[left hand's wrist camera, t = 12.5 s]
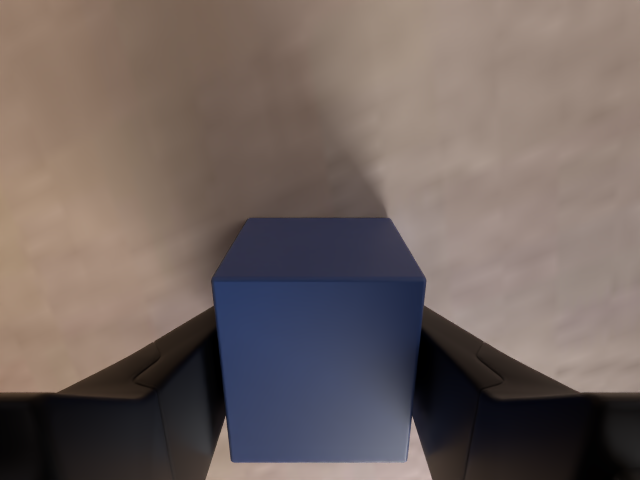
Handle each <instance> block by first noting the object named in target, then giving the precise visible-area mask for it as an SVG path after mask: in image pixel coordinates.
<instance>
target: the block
mask: <svg viewBox="0 0 640 480" xmlns="http://www.w3.org/2000/svg"><path fill="white" fill-rule="evenodd" d="M211 283H212V292H213V301H214V310H215V320H216V329H217V338H218V347H219V356H220V365H221V374H222V384H223V393H224V402H225V411H226V420H227V429H228V439H229V448H230V457H231V461H232V462H234V463H404V462H406V461H407V458H408V448H409V439H410V429H411V420H412V411H413V401H414V392H415V382H416V373H417V364H418V354H419V345H420V335H421V326H422V317H423V307H424V298H425V288H426V278H425V276H424V274H423V273H422V271H421V269H420V268H419V266H418V264H417V263H416V261H415V259H414V258H413V256H412V254H411V253H410V251H409V249H408V247H407V246H406V244H405V242H404V241H403V239H402V237H401V236H400V234H399V232H398V231H397V229H396V227H395V226H394V224H393V222H392V220H391V219H390V218H249V219H247V221H246V223H245V224H244V226H243V228H242V229H241V231H240V233H239V234H238V236H237V238H236V239H235V241H234V242H233V244H232V246H231V247H230V249H229V251H228V252H227V254H226V256H225V257H224V259H223V261H222V262H221V264H220V266H219V267H218V269H217V271H216V272H215V274H214V275H213V277H212V280H211Z"/></svg>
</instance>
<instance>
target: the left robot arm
mask: <svg viewBox="0 0 640 480" xmlns="http://www.w3.org/2000/svg"><path fill="white" fill-rule="evenodd" d="M225 416H226V411H225V402H224V393H223V384H222V374H221V365H220V356H219V347H218V338H217V329H216V320H215V310H214V306H213V307H211V308H209V309H208V310H206V311H204V312H203V313H201V314H199V315H198V316H196V317H194V318H193V319H191V320H189V321H188V322H186V323H184V324H183V325H181V326H179V327H177V328H176V329H174V330H172V331H171V332H169V333H167V334H166V335H164V336H162V337H161V338H159V339H157V340H156V341H155V342H152V343H151V344H149V345H147V346H146V347H144V348H142V349H141V350H139V351H137V352H135V353H134V354H132V355H130V356H128V357H127V358H125V359H123V360H121V361H119V362H117V363H115V364H113V365H111V366H109V367H107V368H105V369H103V370H101V371H99V372H97V373H95V374H93V375H91V376H89V377H87V378H86V379H84V380H82V381H80V382H78V383H76V384H74V385H72V386H70V387H68V388H66V389H64V390H61V391H59V392H57V393H0V480H205V479H206V476H207V473H208V470H209V466H210V463H211V460H212V457H213V454H214V451H215V448H216V444H217V441H218V438H219V435H220V432H221V429H222V426H223V422H224V419H225ZM412 416H413V419H414V422H415V426H416V429H417V432H418V435H419V438H420V441H421V445H422V448H423V451H424V454H425V457H426V461H427V464H428V467H429V470H430V473H431V476H432V480H640V393H580V392H578V391H576V390H573V389H571V388H569V387H567V386H565V385H563V384H561V383H560V382H558V381H556V380H554V379H552V378H550V377H548V376H546V375H544V374H542V373H540V372H538V371H536V370H534V369H532V368H530V367H528V366H526V365H524V364H522V363H520V362H519V361H517V360H515V359H513V358H511V357H509V356H507V355H506V354H504V353H502V352H500V351H499V350H497V349H495V348H494V347H492V346H490V345H489V344H487V343H485V342H484V343H483V341H482V340H480V339H479V338H477V337H475V336H474V335H472V334H470V333H469V332H467V331H465V330H464V329H462V328H460V327H459V326H457V325H455V324H454V323H452V322H450V321H449V320H447V319H445V318H444V317H442V316H441V315H439V314H437V313H436V312H434V311H432V310H431V309H429V308H427V307H426V306H424V307H423V317H422V326H421V335H420V345H419V354H418V364H417V373H416V382H415V392H414V401H413V411H412Z"/></svg>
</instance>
